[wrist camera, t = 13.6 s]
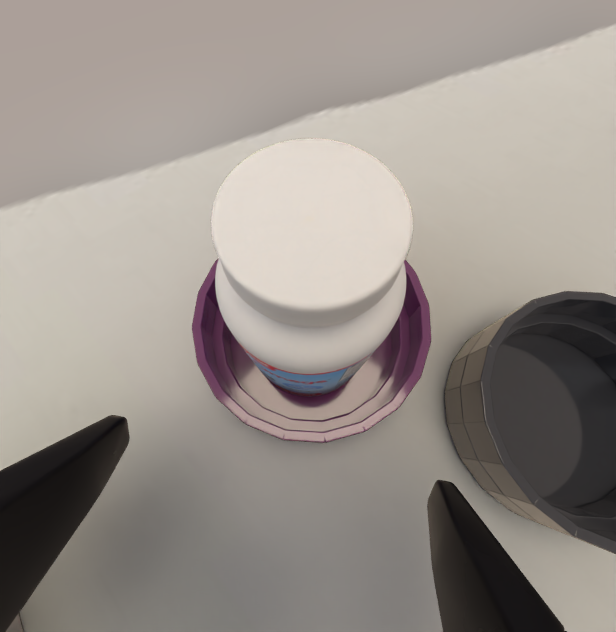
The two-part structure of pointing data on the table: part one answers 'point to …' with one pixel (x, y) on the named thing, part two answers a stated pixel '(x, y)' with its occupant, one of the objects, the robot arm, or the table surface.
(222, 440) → the table surface
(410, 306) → the plum bowl
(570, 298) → the charcoal bowl
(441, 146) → the table surface
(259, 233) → the pill bottle
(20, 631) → the cup
